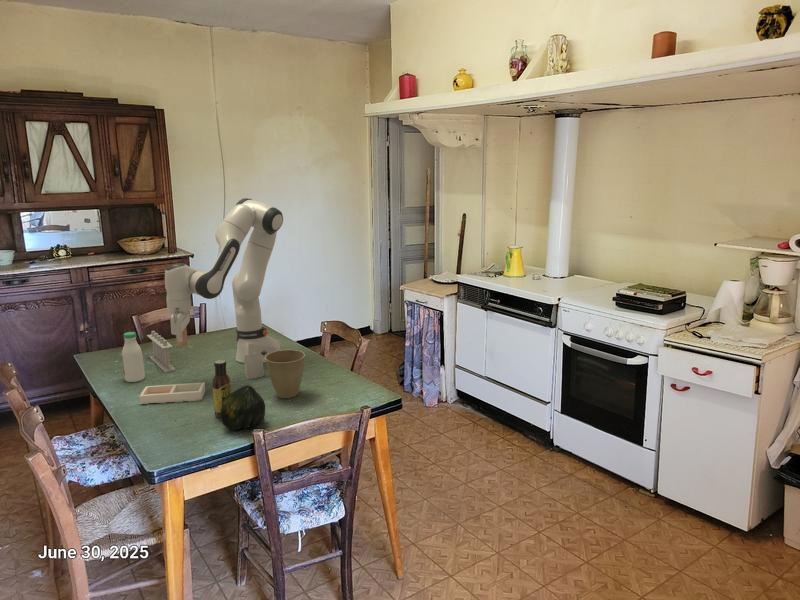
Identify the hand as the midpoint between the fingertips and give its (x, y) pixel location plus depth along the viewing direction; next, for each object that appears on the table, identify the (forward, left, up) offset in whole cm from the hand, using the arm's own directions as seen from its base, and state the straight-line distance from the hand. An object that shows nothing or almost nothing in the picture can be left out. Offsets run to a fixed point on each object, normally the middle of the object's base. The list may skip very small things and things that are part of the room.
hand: (182, 339), depth 240 cm
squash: (-26, +42, -20) cm, 53 cm away
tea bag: (-26, -5, -20) cm, 33 cm away
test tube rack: (+16, -30, -20) cm, 40 cm away
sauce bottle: (-18, +32, -20) cm, 42 cm away
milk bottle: (+23, -12, -20) cm, 32 cm away
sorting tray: (+3, +12, -20) cm, 23 cm away
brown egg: (0, 0, -2) cm, 2 cm away
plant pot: (-40, +18, -20) cm, 48 cm away
